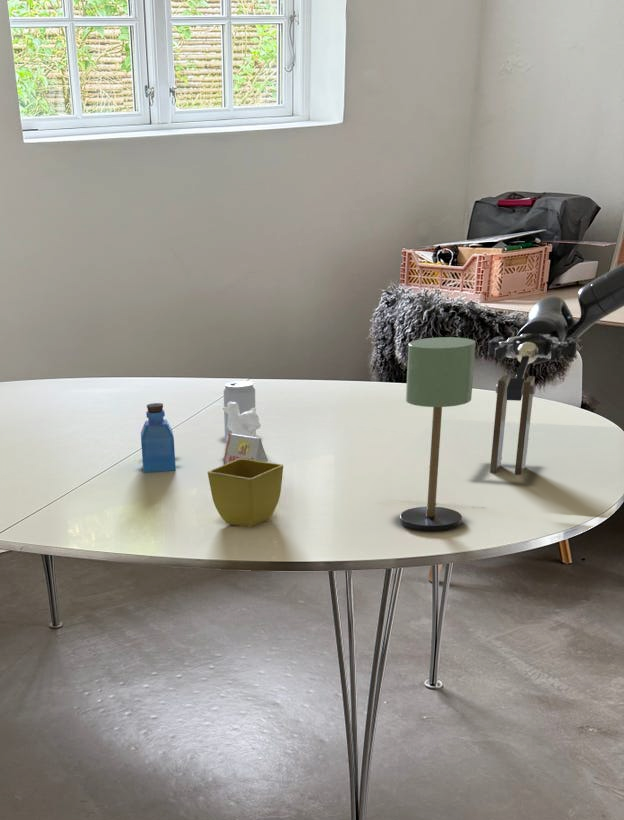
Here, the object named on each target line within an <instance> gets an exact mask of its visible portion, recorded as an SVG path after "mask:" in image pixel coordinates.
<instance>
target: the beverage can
mask: <svg viewBox="0 0 624 820" xmlns="http://www.w3.org/2000/svg"><path fill="white" fill-rule="evenodd" d="M224 386H225V388H224V389H223V408H224V407H227V404H228V402H230V401H231V402H236V403H238V406H239V411H240V415H241V414H242V413H243V412H246V411H250V410H251V409H252V408H256V388H255V387H254V383H253V382H252V381H246V380H239V381H230V382H227V383H225V385H224ZM227 408H228V407H227ZM228 416H229V415H228V413H226V412H225V411H224V410H223V417H224V440H225V442H227V436H228V435H229V434H232V431H231V430H229V429H228V428H227V423H228ZM254 431H255V434H254V436H253V437H256V438H257V429H256V430H254Z"/></svg>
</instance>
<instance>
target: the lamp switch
mask: <svg viewBox="0 0 624 820" xmlns="http://www.w3.org/2000/svg"><path fill="white" fill-rule="evenodd" d="M515 353H516V357H517V358H516V359H517V361H518V362H519V365H518V369H517V370H516V374H515V377H509V384H508V387H507V401H517V402H522V398H523V388H524V381H525V378H524V377H525V374H526V373H527V372H526V371H527V369H528V366H529V365H530V364H532V362H534V361H535V360H536V359H537V357H538V355H539V349H538V347H537V345H536V344H534V343H532V342H525V343H523V344H521V345H520V346H519V347H518V349H517V352H515Z"/></svg>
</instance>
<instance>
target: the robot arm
mask: <svg viewBox="0 0 624 820" xmlns="http://www.w3.org/2000/svg"><path fill="white" fill-rule="evenodd" d="M577 300H578V305H579V309H580V317H579V319H578V320H577V321H576V319H575V317H574V316H573V314H572V312H571V310H570V308H569V306H568V305H567V303H566V301H565V299H564V298H562V297H561V296H558V295H550V296H547V297H544V298H542V299H540V300H539V301H537V302H536V303H535V304H534V305H533V306H532V308H531V309H530V310H529V312H528V314H527V317H526V324H524V325H523V326H522V327H521V329H520V330H519V331H518V332H517V335H516V336H511V337H508V339H507V340H505V338H504V337H503V336H500V335H498V336H495V337H493V338H492V339H491V340H489V341H488V349H487V357H489V358H493V357H494V358H495V359H496V360H497V361H503V360H504V359H505V358H509V359H517V357H516V352H517V349H518V347H519V346H520V345H521V344H523V343H525V342H532V343H534V344H536V345H537V347H538V349H539V355H538V357H537V359H536V360H535V361H534V362H532V363H531V364H532V365H538V364H542V363H546V362H548V361H549V360H550V362H556V361H557V359H558V360H560V359H563V358H564V356H566V358H569V359H573V358H575V357H576V354H577V349H578V342H579V338H580V337H581V336H582V335H583V334H584V333H586V331H588V330H589V329H590V328H591V327H592V326H593V325H595V324H596V323H598V322H599V321H600V320H602V319H604V318H605V317H607V316H609V315H611V314H613V313H614V312H616V311H618V310H620V309H623V307H624V262H622V263H620V264H619V265H618V266H615V267H614V268H612V269H611V270H609V271H607V272H606V273H604V274H602V275H600V276H599V277H597V278H595V279H594V280H592V281H590V282H589V283H587V284H584V285H583V286H582V287H581V288H580V289H579V290H578V292H577Z"/></svg>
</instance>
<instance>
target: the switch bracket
mask: <svg viewBox="0 0 624 820" xmlns="http://www.w3.org/2000/svg"><path fill="white" fill-rule="evenodd" d="M535 380H536V376H535V375H528V376H527V377H526V378H525V379H524V388H523V395H522V398H521V408H520V409H521V410H520V417H519V427H518V428H519V429H518V437H517V438H518V439H517V447H516V456H515V459H516V460H515V467H514V475H522V473H523V472H524V470H525V468H526V464H527V463H526V462H527V453H528V446H529V445H528V443H529V437H530V436H529V435H530V427H531V419H532V418H531V417H532V416H531V415H532V409H533V399H534V395H535V393H536V388H537V386H536V385H535ZM509 381H510V375H507V374H504V375H502V376H501V377H500V378H499V379H498V381H497V384H496V387H495V394H496V400H495V401H496V402H495V412H494V423H493V424H494V425H493V435H492V444H491V455H490V459H491V460H490V466H489V469H490V470H489V473H490V474H491V473H492V474H496V473H497V472H498V471H499V469H500V468H501V466H502V459H503V457H502V456H503V447H504V436H505V427H506V426H505V425H506V415H507V405H508V400H507V387H508V384H509Z"/></svg>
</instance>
